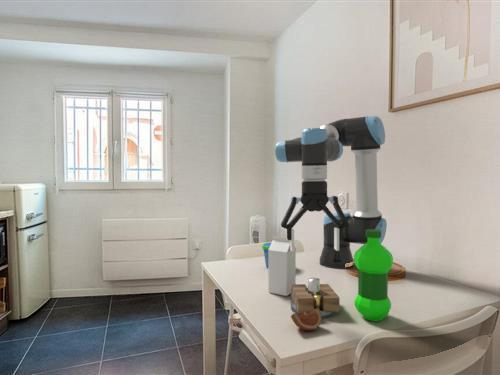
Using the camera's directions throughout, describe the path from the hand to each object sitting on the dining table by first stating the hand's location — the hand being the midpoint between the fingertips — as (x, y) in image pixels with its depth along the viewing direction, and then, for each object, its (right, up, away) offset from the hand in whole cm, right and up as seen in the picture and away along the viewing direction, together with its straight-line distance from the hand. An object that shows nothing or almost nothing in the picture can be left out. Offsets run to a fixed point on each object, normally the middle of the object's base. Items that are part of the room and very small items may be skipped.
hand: (314, 250), depth 102 cm
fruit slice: (-5, -19, -13) cm, 23 cm away
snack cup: (-9, -16, +46) cm, 49 cm away
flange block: (0, -16, +1) cm, 16 cm away
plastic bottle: (+15, -18, -6) cm, 25 cm away
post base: (0, -18, 0) cm, 18 cm away
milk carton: (-8, -18, +15) cm, 25 cm away
